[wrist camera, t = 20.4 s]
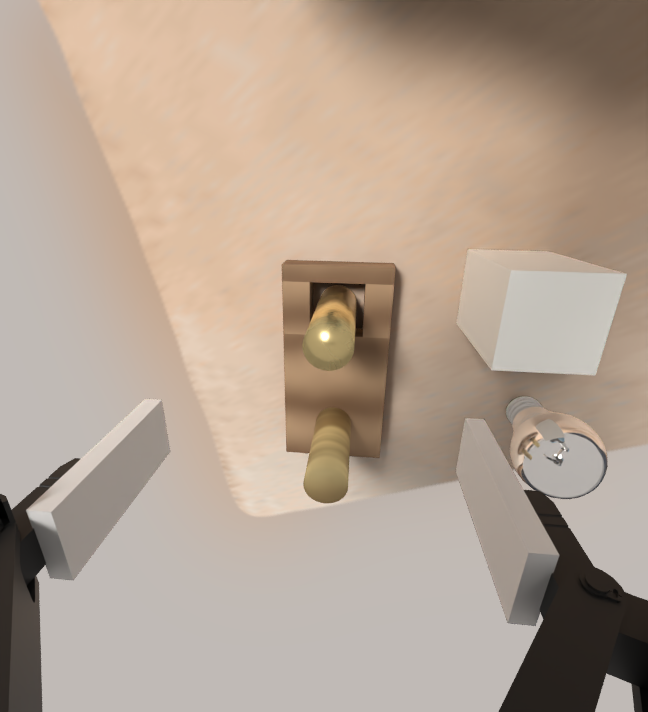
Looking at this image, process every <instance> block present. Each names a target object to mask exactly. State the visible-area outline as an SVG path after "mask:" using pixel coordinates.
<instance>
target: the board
mask: <svg viewBox="0 0 648 712" xmlns="http://www.w3.org/2000/svg"><path fill="white" fill-rule="evenodd" d="M395 269H396V268H395V266H394V263H366V262H333V261H299V260H286V261H285V262H284V263H283V264H282V294H283V333H284V372H285V411H286V450H287V452H300V453H309V458H308V463H307V468H306V473H305V478H304V489H305V492H306V493H307V494H308V496H309V497H311V498H312V499H313V500H315V501H318V502H321V503H334V502H337V501H339V500H341V499H342V498H343V497H344V496H345V495H346V493H347V490H348V474H349V456H359V457H373V458H379V457H380V446H381V434H382V422H383V410H384V398H385V387H386V375H387V363H388V351H389V340H390V328H391V316H392V304H393V293H394V281H395ZM313 282H320V283H349V284H365V295H364V313H363V329H355V344H354V353H353V356H352V358H351V360H350V361H349V363H348V364H346V365H345V366H344V367H342V368H340V369H338V370H334V371H324V370H320V369H318V368H316V367H314V366H313V365H311V364H310V363H309V362H308V360H307V359H306V357H305V356H304V353H303V348H302V344H303V339H304V336H305V334H306V331H307V329H308V326H309V324H310V322H311V319H312V317H313Z"/></svg>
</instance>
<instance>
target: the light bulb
mask: <svg viewBox="0 0 648 712" xmlns="http://www.w3.org/2000/svg"><path fill="white" fill-rule="evenodd" d="M506 416H507V418H508V420H509V421H510V423H511V424H512V428H513V432H514V433H513V436H512V439H511V442H510V456H511V461H512V463H513V466H514V468H515V470H516V472H517V473H518V475H519V476H520V477H521V478H522V480H523V481H524V482H525V483H527V484H528V485H529V486H530V487H531V488H533V489H534V490H536V491H541V492H542V493H543V494H544V495H547V496H549V497H553V498H561V499H572V498H578V497H581V496H584V495H586V494H588V493H590V492H591V491H593V490H594V489H595V488H597V487H598V486H599V484H600V483H601V482H602V480H603V478H604V476H605V474H606V470H607V452H606V449H605V446H604V444H603V442H602V440H601V438H600V437H599V436H598V434H597V433H596V432H595V431H594V430H593V429H592V428H591V427H590V426H589V425H588V424H586V423H585V422H584V421H582V420H580V419H578V418H576V417H574V416H571V415H568V414H565V413H558V412H551V411H549V410H547V409H545V408H543V407H542V405H541V404H540V403H539V402H538V401H537V400H536V399H534V398H532V397H529V396H521V397H518V398H515V399H514V400H512V401H511V402H510V403H509V404H508V406H507V408H506Z"/></svg>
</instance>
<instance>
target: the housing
mask: <svg viewBox="0 0 648 712" xmlns="http://www.w3.org/2000/svg"><path fill="white" fill-rule="evenodd" d="M626 276H627V274H626V273H622V272H619V271H615V270H612V269H609V268H605V267H602V266H598V265H595V264H591V263H588V262H584V261H581V260H577V259H574V258H570V257H567V256H563V255H560V254H557V253H553V252H550V251H522V250H484V249H468V250H467V256H466V263H465V270H464V276H463V283H462V289H461V296H460V302H459V309H458V316H457V322H456V324H457V325H458V326H459V328H460V329H461V330H462V332H463V333H464V334H465V336H466V337H467V338H468V340H469V341H470V342H471V344H472V345H473V346H474V348H475V349H476V350H477V352H478V353H479V354H480V356H481V357H482V358H483V360H484V361H485V362H486V364H487V365H488V366H489V368H490V369H491V370H496V371H516V372H536V373H556V374H576V375H596V372H597V369H598V365H599V362H600V359H601V356H602V353H603V349H604V346H605V343H606V340H607V337H608V333H609V330H610V327H611V324H612V321H613V317H614V314H615V311H616V308H617V305H618V301H619V298H620V295H621V292H622V289H623V285H624V282H625V279H626Z"/></svg>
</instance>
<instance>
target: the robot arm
mask: <svg viewBox="0 0 648 712" xmlns="http://www.w3.org/2000/svg"><path fill="white" fill-rule="evenodd" d="M169 453H170V447H169V440H168V434H167V428H166V423H165V416H164V410H163V404H162V400H155V399H145V400H144V401H143V402H142V403H141V404H139V406H137V407H136V408H135V409H134V410H133V411H132V412H131V413H130V414H129V415H127V416H126V417H125V418H124V419H123V420H122V421H121V422H120V423H119V424H118V425H117V426H116V427H115V428H114V429H112V430H111V431H110V432H109V433H108V434H107V435H106V436H105V437H104V438H103V439H102V440H101V441H100V442H99V443H98V444H96V445H95V446H94V447H93V448H92V449H91V450H90V451H89V452H88V453H87V454H86V455H85V456H83V457H82V458H81V459H78V458H75V459H73V460H71V461H69V462H68V463H66V464H64V465H62V466H60V467H59V468H58V469H57V470H56V471H55V472H54V473H52V474H51V475H50V476H49V478H48V479H46V480H45V481H44V482H42V483H41V484H40V486H39V487H37V488H36V489H35V490H33V491H32V492H31V493H30V494H29V495H28V496H27V497H26V498H25V499H23V500H22V501H21V502H20V503H19V504H18V505H17V506H16V507H14V508H13V509H12V510H11V508H10V505H9V503H8V500H7V498H6V496H4V495H2V494H0V712H42V683H41V645H40V609H39V582H38V580H37V577H36V575H37V574H38V573H39V571H40V570H41V569H42V568H43V567H44V565H46V567H47V570H48V573H49V576H50V578H54V579H65V580H74V579H75V578H76V576H77V575H78V574H79V572H80V571H81V570H82V568H83V567H84V565H85V564H86V563H87V562H88V560H89V559H90V558H91V556H92V555H93V554H94V552H95V551H96V549H97V548H98V547H99V546H100V544H101V543H102V542H103V540H104V539H105V538H106V536H107V535H108V534H109V532H110V531H111V530H112V528H113V527H114V526H115V524H116V523H117V522H118V520H119V519H120V518H121V516H122V515H123V514H124V513H125V511H126V510H127V509H128V507H129V506H130V505H131V503H132V502H133V500H134V499H135V498H136V497H137V495H138V494H139V492H140V491H141V490H142V489H143V487H144V486H145V485H146V483H147V482H148V481H149V479H150V478H151V477H152V475H153V474H154V473H155V471H156V470H157V469H158V467H159V466H160V465H161V463H162V462H163V461H164V459H165V458H166V457H167V455H168V454H169ZM456 474H457V477H458V480H459V483H460V485H461V488H462V491H463V494H464V497H465V500H466V503H467V506H468V509H469V512H470V514H471V518H472V520H473V523H474V526H475V529H476V532H477V535H478V538H479V541H480V544H481V547H482V549H483V553H484V556H485V558H486V561H487V564H488V567H489V570H490V573H491V576H492V579H493V582H494V585H495V588H496V590H497V593H498V596H499V599H500V602H501V605H502V608H503V611H504V614H505V617H506V620H507V623H511V624H522V625H531V626H536V623H537V620H538V617H539V614H540V612H541V615H542V617H543V619H544V620H543V622H542V624H541V626H540V628H539V630H538V632H537V634H536V636H535V638H534V640H533V642H532V644H531V646H530V648H529V651H528V653H527V654H526V657H525V659H524V661H523V663H522V665H521V667H520V669H519V671H518V673H517V675H516V678H515V679H514V682H513V683H512V685H511V687H510V690H509V691H508V694H507V696H506V698H505V700H504V702H503V704H502V706H501V708H500V710H499V712H595V709H596V706H597V703H598V699H599V696H600V693H601V689H602V686H603V682H604V679H605V675H606V673H607V674H609V675H612V676H614V677H617V678H619V679H622V680H624V681H626V682H629V683H631V684H632V692H633V701H634V711H635V712H648V601H647V600H644V599H642V598H639V597H636V596H633V595H631V594H628V593H626V592H624V590H623V589H622V587H621V586H620V585H619V584H618V583H617V582H616V581H615V579H614V578H612V577H611V576H610V575H608V574H607V573H605V572H603V571H602V570H600V569H598V568H595V567H594V566H593V564H592V563H591V561H590V560H589V558H588V556H587V555H586V553H585V552H584V550H583V549H582V547H581V546H580V544H579V542H578V541H577V539H576V537H575V536H574V534H573V533H572V531H571V529H570V528H568V525H567V523H566V521H565V520H564V518H562V515H561V514H560V512H559V511H558V509H557V507H556V506H555V504H554V503H553V502H552V501H551V500H550V499H549V498H548V497H547V496H545V495H544V494H543V493H542V492H541V491H532V490H523V489H522V487H521V485H520V483H519V481H518V479H517V478H516V476H515V474H514V472H513V470H512V468H511V467H510V465H509V463H508V461H507V459H506V458H505V456H504V454H503V452H502V450H501V449H500V447H499V445H498V443H497V441H496V439H495V438H494V436H493V434H492V432H491V430H490V429H489V427H488V425H487V423H486V421H485V420H484V419H475V418H465V423H464V428H463V434H462V439H461V445H460V450H459V456H458V462H457V467H456Z"/></svg>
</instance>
